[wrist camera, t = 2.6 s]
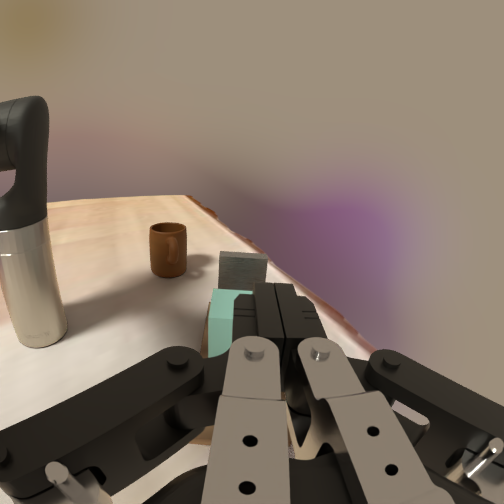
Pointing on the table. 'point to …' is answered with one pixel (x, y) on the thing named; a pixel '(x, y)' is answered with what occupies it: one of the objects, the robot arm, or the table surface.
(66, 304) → the table surface
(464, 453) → the robot arm
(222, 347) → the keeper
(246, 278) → the rail
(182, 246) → the mug
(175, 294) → the table surface
